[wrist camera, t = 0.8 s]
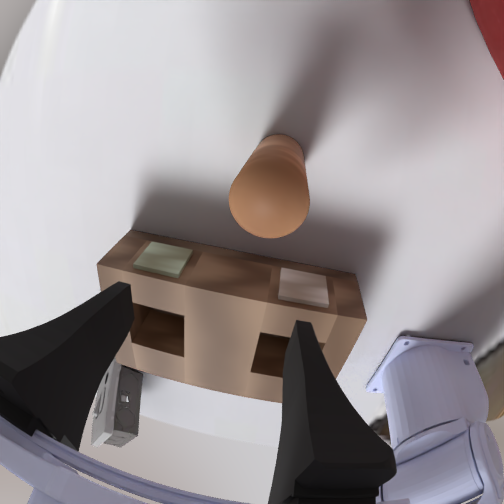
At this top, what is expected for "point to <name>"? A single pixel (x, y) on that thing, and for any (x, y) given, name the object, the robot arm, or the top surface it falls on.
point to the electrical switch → (117, 406)
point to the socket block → (227, 313)
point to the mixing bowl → (491, 27)
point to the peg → (271, 189)
